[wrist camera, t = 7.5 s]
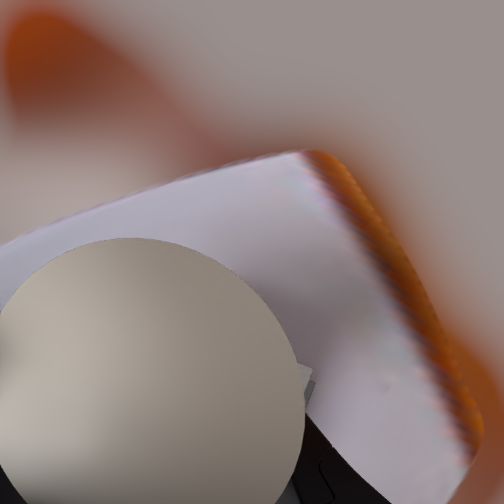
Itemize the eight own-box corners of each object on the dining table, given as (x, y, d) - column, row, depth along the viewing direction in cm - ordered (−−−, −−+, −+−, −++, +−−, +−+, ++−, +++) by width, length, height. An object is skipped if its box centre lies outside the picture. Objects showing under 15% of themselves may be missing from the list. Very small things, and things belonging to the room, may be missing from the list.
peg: (198, 475, 12) (163, 608, 2) (126, 417, 13) (-55, 379, 3) (253, 408, 14) (367, 366, 4) (182, 354, 15) (123, 189, 5)
